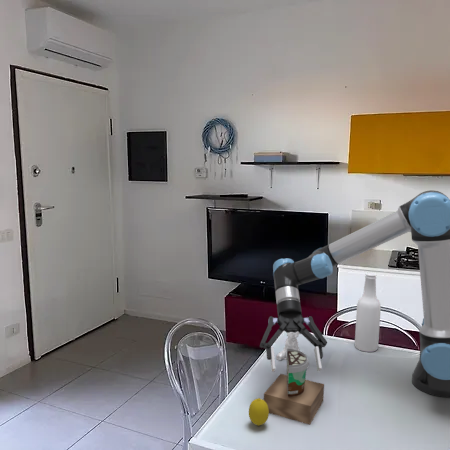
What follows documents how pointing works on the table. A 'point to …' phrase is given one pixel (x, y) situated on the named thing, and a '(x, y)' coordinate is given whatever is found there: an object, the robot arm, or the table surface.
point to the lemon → (258, 411)
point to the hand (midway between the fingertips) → (296, 370)
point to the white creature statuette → (289, 345)
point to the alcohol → (368, 317)
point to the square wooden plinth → (294, 400)
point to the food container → (296, 371)
